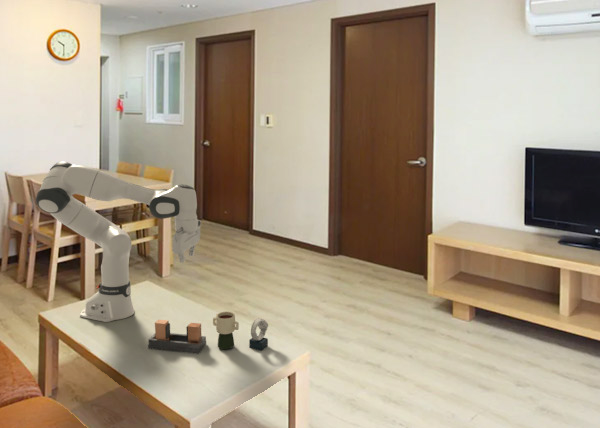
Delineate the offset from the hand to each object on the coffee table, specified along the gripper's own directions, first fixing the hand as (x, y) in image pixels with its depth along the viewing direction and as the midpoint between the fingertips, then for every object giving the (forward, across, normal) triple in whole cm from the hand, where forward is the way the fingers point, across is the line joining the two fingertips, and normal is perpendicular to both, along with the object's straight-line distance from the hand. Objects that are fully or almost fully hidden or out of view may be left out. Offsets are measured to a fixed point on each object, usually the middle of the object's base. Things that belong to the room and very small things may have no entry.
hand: (187, 258), depth 206 cm
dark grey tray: (+29, -18, -3) cm, 35 cm away
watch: (+29, -12, -33) cm, 46 cm away
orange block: (+28, -18, +3) cm, 33 cm away
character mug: (+29, -15, -21) cm, 39 cm away
